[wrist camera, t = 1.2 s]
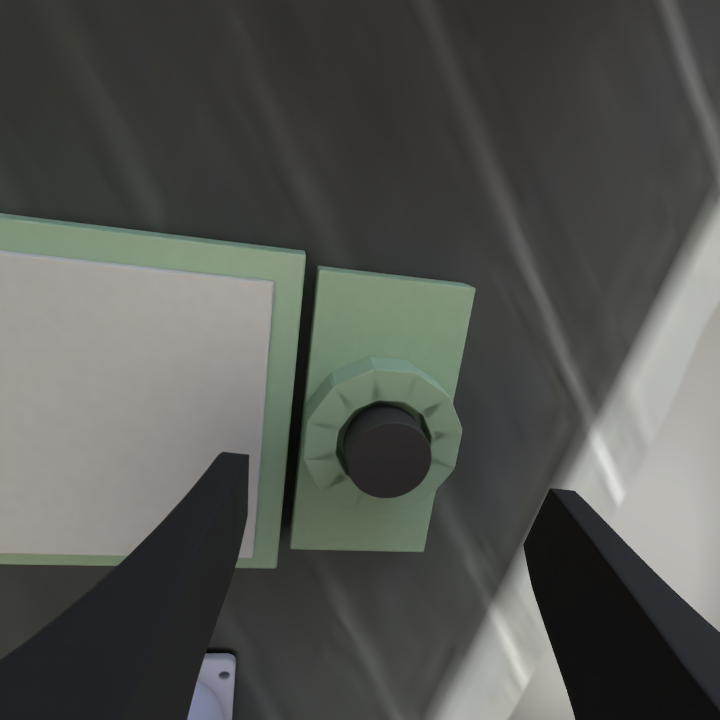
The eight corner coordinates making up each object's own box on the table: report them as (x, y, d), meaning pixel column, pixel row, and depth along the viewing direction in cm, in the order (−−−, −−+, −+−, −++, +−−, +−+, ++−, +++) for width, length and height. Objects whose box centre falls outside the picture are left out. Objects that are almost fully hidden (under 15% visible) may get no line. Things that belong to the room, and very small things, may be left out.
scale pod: (416, 532, 22) (433, 579, 19) (290, 529, 21) (289, 577, 18) (464, 282, 19) (493, 294, 16) (317, 265, 18) (320, 274, 15)
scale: (278, 538, 21) (275, 579, 19) (-38, 530, 19) (-87, 575, 17) (305, 250, 18) (306, 256, 15) (-80, 203, 16) (-150, 200, 13)
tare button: (414, 477, 18) (424, 501, 17) (338, 474, 18) (342, 497, 16) (427, 407, 17) (439, 424, 16) (348, 401, 17) (352, 419, 16)
